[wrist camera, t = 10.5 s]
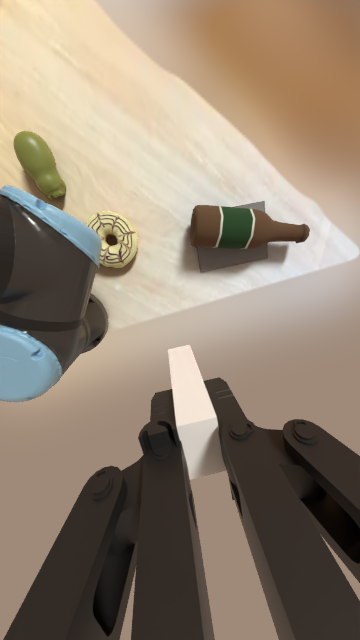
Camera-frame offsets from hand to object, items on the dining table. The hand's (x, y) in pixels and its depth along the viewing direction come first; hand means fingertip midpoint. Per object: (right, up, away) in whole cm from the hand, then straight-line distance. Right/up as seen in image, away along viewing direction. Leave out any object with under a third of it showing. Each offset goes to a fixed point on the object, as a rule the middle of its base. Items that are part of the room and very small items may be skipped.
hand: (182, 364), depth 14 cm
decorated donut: (-15, +20, +29) cm, 38 cm away
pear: (-25, +31, +25) cm, 47 cm away
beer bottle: (+2, +22, +26) cm, 34 cm away
